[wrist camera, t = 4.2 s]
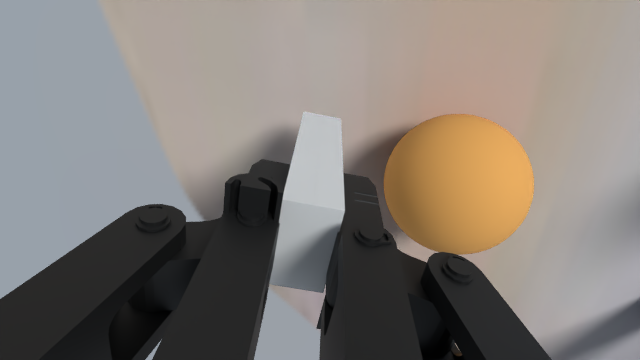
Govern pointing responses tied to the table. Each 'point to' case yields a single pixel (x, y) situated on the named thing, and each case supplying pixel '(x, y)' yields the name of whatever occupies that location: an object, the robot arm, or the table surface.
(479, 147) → the ball
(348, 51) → the table surface
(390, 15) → the table surface
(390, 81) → the table surface
